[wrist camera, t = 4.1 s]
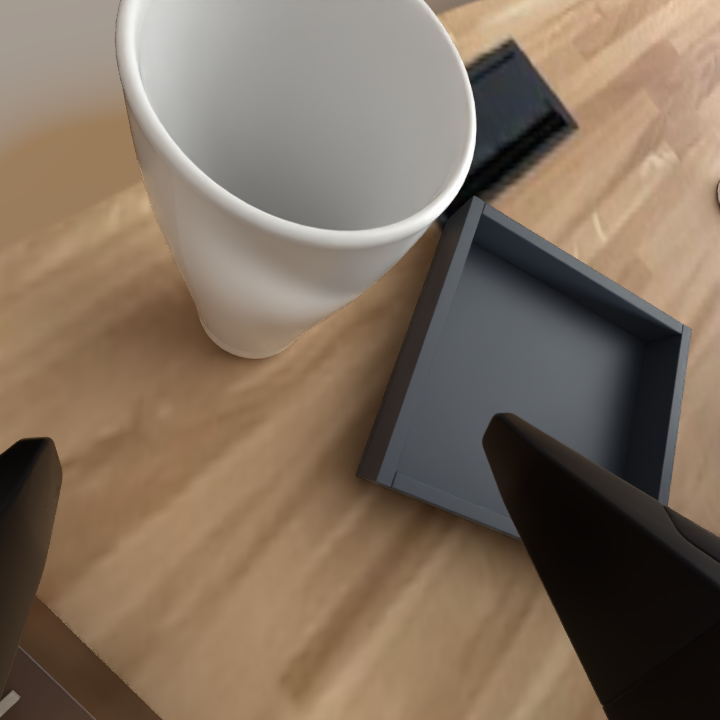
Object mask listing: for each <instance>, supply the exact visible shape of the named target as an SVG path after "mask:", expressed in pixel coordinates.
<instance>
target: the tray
mask: <svg viewBox="0 0 720 720" xmlns="http://www.w3.org/2000/svg"><path fill="white" fill-rule="evenodd" d="M691 330H692V329H691V328H689V327H687V326H686V325H684V324H682V323H680V322H679V321H677V320H675V319H674V318H672V317H671V316H669V315H667V314H666V313H664V312H662V311H661V310H659V309H658V308H656V307H654V306H653V305H651V304H649V303H648V302H646V301H645V300H643V299H641V298H640V297H638V296H636V295H635V294H633V293H631V292H630V291H628V290H627V289H625V288H623V287H622V286H620V285H618V284H617V283H615V282H614V281H612V280H610V279H609V278H607V277H605V276H604V275H602V274H601V273H599V272H597V271H596V270H594V269H592V268H591V267H589V266H588V265H586V264H584V263H583V262H581V261H579V260H578V259H576V258H574V257H573V256H571V255H570V254H568V253H566V252H565V251H563V250H561V249H560V248H558V247H557V246H555V245H553V244H552V243H550V242H548V241H547V240H545V239H544V238H542V237H540V236H539V235H537V234H535V233H534V232H532V231H531V230H529V229H527V228H526V227H524V226H522V225H521V224H519V223H517V222H516V221H514V220H513V219H511V218H509V217H508V216H506V215H504V214H503V213H501V212H500V211H498V210H496V209H495V208H493V207H491V206H490V205H488V204H487V203H485V202H484V201H482V200H481V199H479V198H477V197H476V196H473V197H472V198H471V199H470V200H469V201H468V202H466V203H465V204H464V205H463V206H462V207H461V208H460V209H459V210H458V211H457V212H456V213H455V214H454V215H453V216H452V217H451V218H450V219H448V220H447V222H446V225H445V228H444V230H443V233H442V236H441V239H440V242H439V244H438V247H437V250H436V253H435V255H434V258H433V261H432V264H431V267H430V269H429V272H428V275H427V278H426V281H425V283H424V286H423V289H422V292H421V294H420V297H419V300H418V303H417V306H416V308H415V311H414V314H413V317H412V320H411V322H410V325H409V328H408V331H407V333H406V336H405V339H404V342H403V345H402V347H401V350H400V353H399V356H398V359H397V361H396V364H395V367H394V370H393V372H392V375H391V378H390V381H389V384H388V386H387V389H386V392H385V395H384V398H383V400H382V403H381V406H380V409H379V411H378V414H377V417H376V420H375V423H374V425H373V428H372V431H371V434H370V437H369V439H368V442H367V445H366V448H365V450H364V453H363V456H362V459H361V462H360V464H359V467H358V470H357V473H356V477H359V478H361V479H364V480H366V481H369V482H371V483H374V484H376V485H379V486H381V487H384V488H387V489H389V490H392V491H394V492H397V493H399V494H402V495H404V496H407V497H409V498H412V499H414V500H417V501H419V502H422V503H424V504H427V505H429V506H432V507H434V508H437V509H439V510H442V511H444V512H447V513H449V514H452V515H455V516H457V517H460V518H462V519H465V520H467V521H470V522H472V523H475V524H477V525H480V526H482V527H485V528H487V529H490V530H492V531H495V532H497V533H500V534H502V535H505V536H507V537H510V538H512V539H515V540H518V541H520V542H522V540H521V538H520V536H519V534H518V532H517V530H516V528H515V526H514V524H513V522H512V520H511V518H510V516H509V514H508V511H507V509H506V507H505V505H504V502H503V500H502V497H501V495H500V492H499V490H498V487H497V484H496V482H495V479H494V476H493V474H492V471H491V468H490V465H489V463H488V460H487V457H486V455H485V452H484V449H483V446H482V437H483V435H484V433H485V431H486V429H487V427H488V424H489V422H490V420H491V418H492V417H493V415H495V414H496V413H507V412H509V413H513V414H515V415H516V416H518V417H520V418H521V419H523V420H525V421H526V422H528V423H530V424H531V425H533V426H535V427H536V428H538V429H540V430H541V431H543V432H545V433H546V434H548V435H550V436H551V437H553V438H555V439H556V440H558V441H560V442H561V443H563V444H564V445H566V446H568V447H569V448H571V449H573V450H574V451H576V452H578V453H579V454H581V455H583V456H584V457H586V458H588V459H589V460H591V461H593V462H594V463H596V464H598V465H599V466H601V467H603V468H604V469H606V470H608V471H609V472H611V473H612V474H614V475H616V476H617V477H619V478H621V479H622V480H624V481H626V482H627V483H629V484H631V485H632V486H634V487H636V488H637V489H639V490H641V491H642V492H644V493H646V494H647V495H649V496H651V497H652V498H654V499H656V500H657V501H659V502H660V503H661V504H662V505H666V506H667V507H668V499H669V492H670V484H671V477H672V470H673V462H674V455H675V448H676V440H677V433H678V426H679V418H680V411H681V404H682V396H683V389H684V382H685V374H686V367H687V360H688V352H689V345H690V338H691Z"/></svg>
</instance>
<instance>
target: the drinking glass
mask: <svg viewBox="0 0 720 720" xmlns="http://www.w3.org/2000/svg"><path fill="white" fill-rule="evenodd" d="M115 44H116V45H115V46H116V58H117V64H118V70H119V75H120V80H121V83H122V87H123V92H124V98H125V103H126V108H127V113H128V118H129V123H130V128H131V133H132V138H133V143H134V147H135V151H136V156H137V160H138V164H139V167H140V171H141V175H142V179H143V182H144V185H145V188H146V192H147V195H148V198H149V201H150V204H151V207H152V210H153V213H154V216H155V219H156V221H157V224H158V226H159V229H160V231H161V233H162V236H163V238H164V240H165V243H166V245H167V247H168V249H169V251H170V253H171V256H172V258H173V260H174V262H175V264H176V266H177V268H178V270H179V272H180V274H181V276H182V278H183V280H184V282H185V284H186V286H187V288H188V290H189V292H190V294H191V297H192V299H193V301H194V303H195V305H196V307H197V311H198V316H199V319H200V322H201V324H202V327H203V328H204V330H205V332H206V333H207V335H208V336H209V337H210V338H211V340H212V341H213V342H214V343H215V344H217V345H218V346H219V347H220V348H222V349H223V350H225V351H227V352H229V353H231V354H233V355H236V356H239V357H243V358H250V359H260V358H267V357H271V356H274V355H277V354H279V353H281V352H283V351H285V350H286V349H288V348H289V347H290V346H291V345H292V344H293V343H294V342H295V341H296V340H297V339H298V338H299V337H301V336H302V335H303V334H305V333H306V332H308V331H309V330H311V329H312V328H314V327H315V326H317V325H318V324H320V323H321V322H323V321H324V320H326V319H327V318H329V317H330V316H332V315H333V314H335V313H336V312H338V311H339V310H341V309H342V308H344V307H345V306H347V305H348V304H350V303H351V302H352V301H354V300H355V299H356V298H358V297H359V296H360V295H362V294H363V293H364V292H365V291H367V290H368V289H369V288H370V287H372V286H373V285H374V284H375V283H376V282H377V281H379V280H380V279H381V278H382V277H383V276H384V275H385V274H386V273H387V272H388V271H389V270H390V269H391V268H392V267H393V266H394V265H395V264H396V263H397V262H398V261H399V260H400V259H401V258H402V257H403V256H404V255H405V254H406V253H407V252H408V251H409V250H410V249H411V248H412V247H413V245H414V244H415V243H416V242H417V241H418V240H419V239H420V238H421V237H422V235H423V234H424V233H425V232H426V231H427V230H428V228H429V227H430V226H431V225H432V224H433V223H434V221H435V220H436V219H437V218H438V217H439V215H440V214H441V213H442V212H443V211H444V210H445V209H446V208H447V207H448V206H449V204H450V203H451V202H452V200H453V199H454V198H455V197H456V195H457V193H458V192H459V190H460V188H461V186H462V185H463V183H464V180H465V178H466V176H467V174H468V171H469V168H470V165H471V162H472V158H473V153H474V148H475V140H476V112H475V103H474V98H473V93H472V88H471V85H470V82H469V78H468V75H467V72H466V69H465V67H464V64H463V61H462V59H461V57H460V55H459V53H458V51H457V49H456V47H455V45H454V43H453V41H452V39H451V38H450V36H449V34H448V32H447V31H446V29H445V28H444V26H443V25H442V23H441V22H440V20H439V19H438V18H437V16H436V15H435V14H434V12H433V11H432V10H431V9H430V7H429V6H428V5H427V4H426V3H425V1H424V0H120V4H119V9H118V14H117V19H116V32H115Z"/></svg>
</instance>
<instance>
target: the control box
mask: <svg viewBox="0 0 720 720" xmlns="http://www.w3.org/2000/svg"><path fill="white" fill-rule="evenodd" d="M0 720H162V719H161V718H160V717H159V716H158V715H157V714H155V713H154V712H153V711H152V710H151V709H150V708H149V707H148V706H147V705H146V704H145V703H144V702H143V701H142V700H141V699H140V698H139V697H138V696H137V695H136V694H135V693H134V692H133V691H132V690H131V689H130V688H129V687H128V686H127V685H126V684H125V683H124V682H123V681H122V680H121V679H120V678H119V677H118V676H117V675H116V674H115V673H114V672H113V671H112V670H111V669H110V668H109V667H108V666H107V665H106V664H105V663H104V662H102V661H101V660H100V659H99V658H98V657H97V656H96V655H95V654H94V653H93V652H92V651H91V650H90V649H89V648H88V647H87V646H86V645H85V644H84V643H83V642H82V641H81V640H80V639H79V638H78V637H77V636H76V635H75V634H74V633H73V632H72V631H71V630H70V629H69V628H68V627H67V626H66V625H65V624H64V623H63V622H62V621H61V620H60V619H59V618H58V617H57V616H56V615H55V614H54V613H53V612H52V611H51V610H50V609H48V608H47V607H46V606H45V605H44V604H43V603H42V602H41V601H40V600H39V599H38V598H37V597H36V596H35V598H34V601H33V604H32V607H31V610H30V613H29V616H28V619H27V622H26V625H25V628H24V631H23V634H22V637H21V640H20V643H19V646H18V649H17V652H16V655H15V658H14V661H13V664H12V667H11V670H10V673H9V676H8V679H7V682H6V685H5V688H4V691H3V694H2V696H1V699H0Z"/></svg>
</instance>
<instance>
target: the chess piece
mask: <svg viewBox="0 0 720 720" xmlns="http://www.w3.org/2000/svg"><path fill="white" fill-rule="evenodd" d="M718 200H719V203H720V183H719V185H718Z"/></svg>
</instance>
